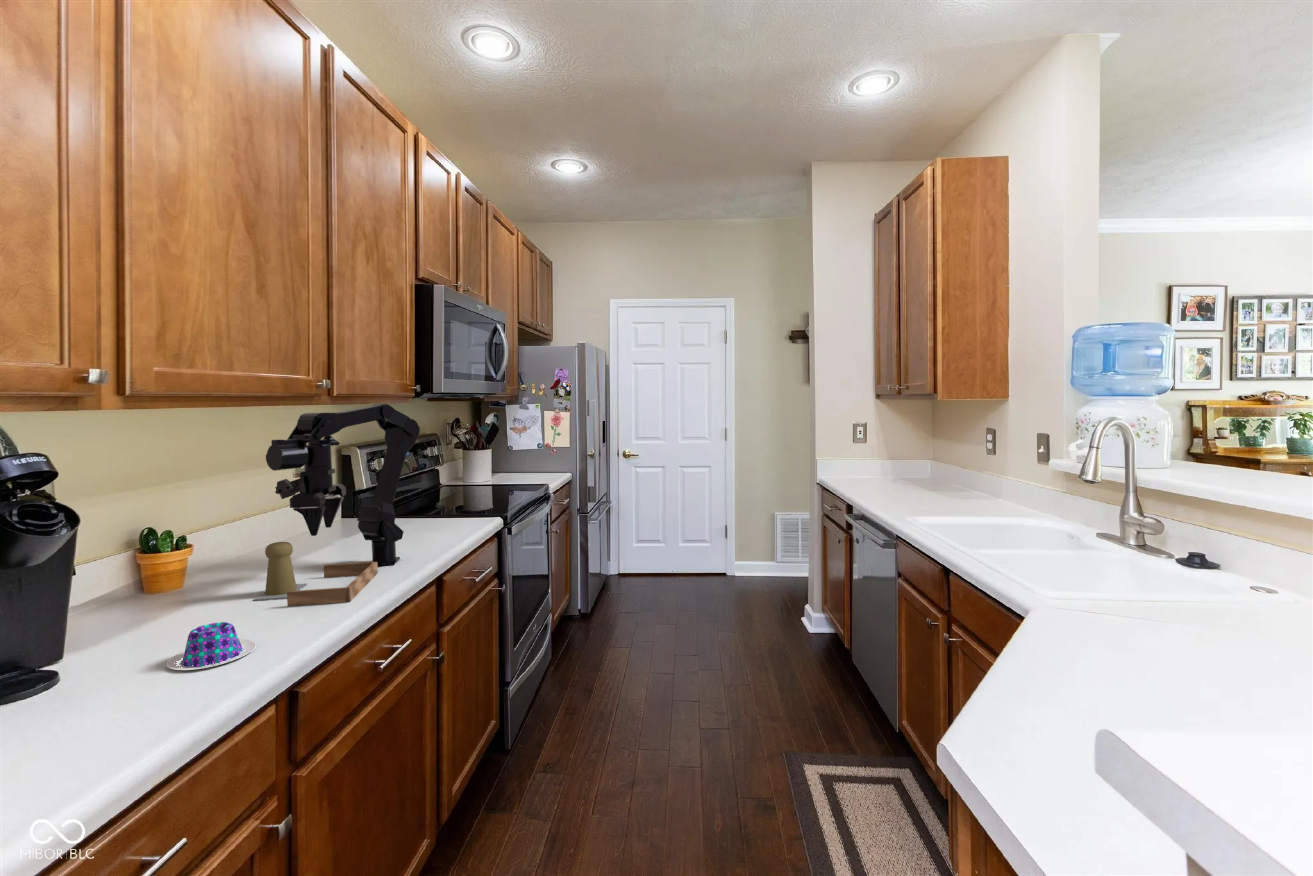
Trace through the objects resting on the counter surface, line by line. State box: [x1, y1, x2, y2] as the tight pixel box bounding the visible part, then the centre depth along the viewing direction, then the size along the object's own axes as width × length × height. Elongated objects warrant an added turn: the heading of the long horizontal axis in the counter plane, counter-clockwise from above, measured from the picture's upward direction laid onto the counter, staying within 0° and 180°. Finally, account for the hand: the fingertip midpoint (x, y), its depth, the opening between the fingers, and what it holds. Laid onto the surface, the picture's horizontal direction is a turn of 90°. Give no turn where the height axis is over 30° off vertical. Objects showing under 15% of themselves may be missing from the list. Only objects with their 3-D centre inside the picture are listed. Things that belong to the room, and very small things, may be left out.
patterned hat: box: [165, 621, 257, 671], centre depth 98 cm, size 12×12×5 cm
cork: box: [264, 541, 297, 595], centre depth 132 cm, size 6×6×11 cm
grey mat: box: [252, 583, 308, 602], centre depth 132 cm, size 10×7×1 cm
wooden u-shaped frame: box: [286, 561, 379, 607], centre depth 134 cm, size 22×12×3 cm, turn 11°
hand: (321, 531), depth 139 cm, fingers open, 9 cm apart
